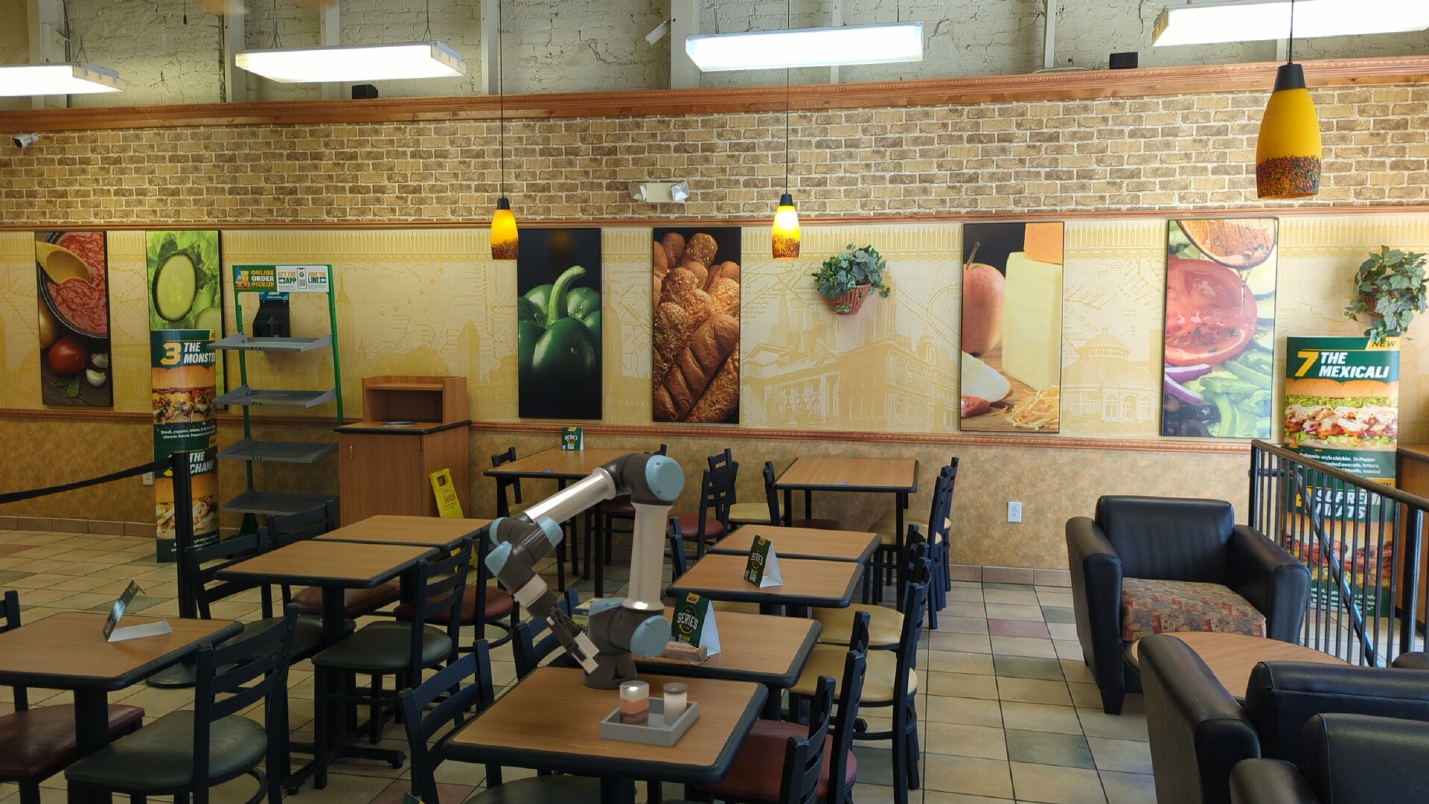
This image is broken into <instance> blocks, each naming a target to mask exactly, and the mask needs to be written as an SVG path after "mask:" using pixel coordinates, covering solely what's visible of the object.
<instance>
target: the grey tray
mask: <svg viewBox="0 0 1429 804" xmlns="http://www.w3.org/2000/svg"><path fill="white" fill-rule="evenodd" d="M698 718H699V702H697V701H690V700H687V711H686V712H685V713H684V714H683V715H682V716H681V717H680V718H679V719H678V720H677V721H676V722H675V723H674V724H673V725H668V724H666V723H664V697H663V698H661V697H654V696H649V727H644V726H636V725H628V724H620V705H619V706H617V707H616V708H615V709H614V710H613V711H612V712H610V713H609V715H607V716H606V717H605V718H604V719H602V720H601V721H600V722H599V738H600V739H601V740H602V739H604V740H608V741H609V740H610V741H611V740H612V741H616V742H617V741H619V742H626V743H627V742H628V743H634V744H642V745H650V746H657V747H658V746H659V747H664V748H665V747H666V748H673V746H674V745H675V744H677V742H678V741H679V740H680V738H681V737H682V736H683V735H684V734H685V733H686V731H688V729H689V728H690V727H691V726H692V725H693V724H694V723H695V722H696V720H697V719H698Z"/></svg>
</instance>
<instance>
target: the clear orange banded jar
mask: <svg viewBox="0 0 1429 804" xmlns="http://www.w3.org/2000/svg"><path fill="white" fill-rule="evenodd" d="M649 697H650V683H648V682H646V681H643V680H637V681H627V682H623V683H621V684H620V688H619V706H620V724H628V725H636V726H644V727H649Z"/></svg>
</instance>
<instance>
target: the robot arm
mask: <svg viewBox="0 0 1429 804" xmlns="http://www.w3.org/2000/svg"><path fill="white" fill-rule="evenodd" d="M684 474H685V473H684V471H683V469H682V467H681V466H680V464H679V462H678V461H677V460H676V459H674V458H672V457H669V456H665V455H661V454H649V453H641V452H630V453H626V454H623V455H619V456H617V457H615V458H612V459H611V460H609V461H607V462H605V463H603V464H600V465H599V466H598V467H596V468H593V470H592V472H591V474H590V475H588V476H587V477H584V478H583V479H581V480H579V481H577V482H575V483H573V484H571V485H570V486H567V487H566V488H564V489H562V490H560V491H558V492H556V493H555V494H552V495H551V496H549V497H548V498H545V499H543V500H541V501H540V502H537V503H536V504H534V505H532V506H531V507H528V508H527V509H525V510H523V511H521V512H520V513H517V514H515V515H513V516H511V517H508V516H505V517H499V518H497V519H495V520H493V522H492V524H491V525H490V528H489V538H490V540H491V542H492V543H493V544H494V545H496V546H497V547H496V548H495V549H494V550H492V551H491V552H490V553H489V554H487V556H486V557H485V559H484V564H485V565H486V567H487V568H488V569H489V571H490V572H491V573H492V574H493V576H494V577H496V579H497V580H498V581H500V583H501V584H502V585H503V586H504V587H505V588H506V589H507V590H508V591H509V593H511V595H513V597H514V602H519V604H520V605H521V606H522V607H526V609H525V610H526V612H527V613H529V614H528V615H530V616H531V617H532V618H533V619H534V620H538V619H540V618H541V617H542V616H543V617H544V618H545V620H544V621H543V622H544V624H545V625H546V626H547V627H548V629H549V630H550V631H551V632H552V633H553V635H554V637H555V638H556V639H557V640H558V642H559V643H560V644H561V645H562V647H563V648H564V650H565V651H566V653H565V655H567V656H570V655H572V657H573V656H574V657H575V658H576V659H575V660H577V662H578V663H579V664H580V665H581V667H583V673H582V682H583V684H584V685H585V686H587V687H590V688H593V689H601V690H612V689H613V690H615V689H620V684H621V683H623V682H627V681H638V673H637V668H636V665H635V661H634V659H633V656H632V655H634V656H636V657H638V658H639V657H642V658H644V657H645V658H651V657H655V656H657V655H658V654H660V653H661V652H662V650H663V649H665V648H666V646H667V644H668V643H669V641H671V637H672V626H671V625H672V624H671V623H670V622H669V620H668V619H667V618H666V617H665V605H664V604H663V602H662V601H661V588H662V577H663V565H664V553H665V543H666V532H667V531H666V530H667V521H668V512H669V511H670V510H671V509H673V507H674V503H675V500H676V499H677V498H678V497H679V496H680V494H681V493H682V492H683V489H684V488H685V487H684V486H685V475H684ZM622 495H631V499H630V500H631V501H630V504H631V505H632V506H633V507H634V509H635V518H634V527H633V528H634V529H633V540H632V549H631V550H632V551H631V552H632V553H631V561H630V572H629V573H630V575H629V584H628V595H627V596H628V597H623V596H622V597H619V596H618V597H617V596H615V597H608V598H606V597H605V598H606V599H600V600H596V601H594V602H592V603H591V604H590V606H589V615H588V617H589V639H588V638H587V637H586V636H585V635H584V633H583V632H581V631H582V630H583V628H582V626H581V627H579V625H577V624H576V623H575V622H574V621H573V618H571V617H570V616H568V614H566V612H565V611H563V610H562V608H560V607H559V606H558V604H556V603H557V602H558V600H559V597H558V596H557V594H555V592H553V590H552V589H551V588H548V587H547V586H548V585H547V583H546V582H545V581H544V580H543V579H542V578H541V576H539V575H538V574H537V572H536V571H535V570H534V569H533V568H534V567H535V566H536V565H537V564H538V562H540V561H541V560H542V559H543V558H545V557H546V555H548V554H549V553H550V552H551V551H552V550H553V549H555V548H556V546H557V545H558V544H559V543H560V542H561V541H562V540H563V536H564V533H563V529H562V528H561V527H560V524H561V523H563V522H565V521H567V520H569V519H570V518H572V517H574V516H576V515H578V514H579V513H581V512H583V511H584V510H586V509H588V508H590V507H592V506H594V505H596V504H598V503H600V502H601V501H603V500H604V499H605V500H612V499H614V498H616V497H618V496H622ZM580 632H581V633H580ZM574 637H575V638H574Z"/></svg>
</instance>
